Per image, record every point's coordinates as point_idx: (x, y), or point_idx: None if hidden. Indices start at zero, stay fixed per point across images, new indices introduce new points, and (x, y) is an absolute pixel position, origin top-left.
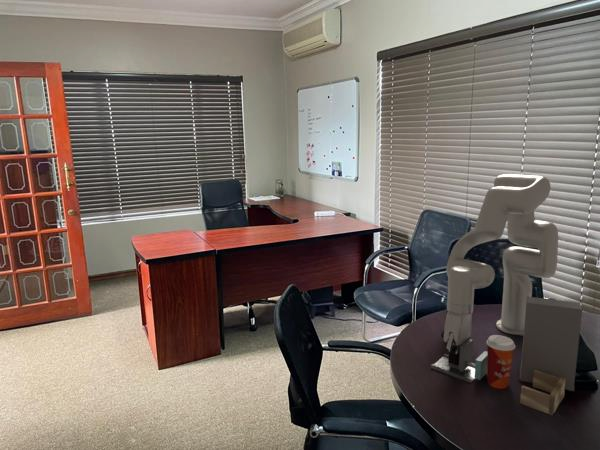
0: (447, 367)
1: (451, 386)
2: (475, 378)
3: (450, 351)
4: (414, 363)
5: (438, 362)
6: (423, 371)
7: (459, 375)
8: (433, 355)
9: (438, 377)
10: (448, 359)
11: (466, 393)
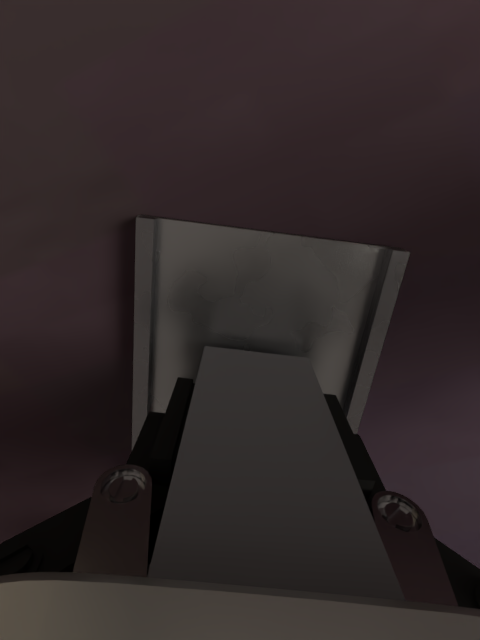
0: (206, 333)
1: (15, 413)
2: None
3: (76, 512)
4: (118, 32)
5: (245, 246)
6: (47, 178)
7: (132, 439)
8: (376, 147)
9: (52, 313)
10: (198, 373)
11: (14, 491)
